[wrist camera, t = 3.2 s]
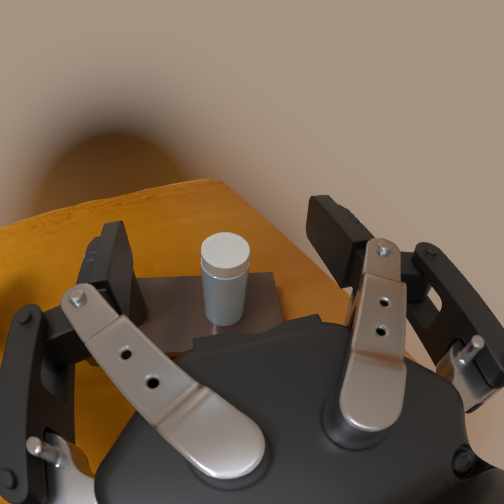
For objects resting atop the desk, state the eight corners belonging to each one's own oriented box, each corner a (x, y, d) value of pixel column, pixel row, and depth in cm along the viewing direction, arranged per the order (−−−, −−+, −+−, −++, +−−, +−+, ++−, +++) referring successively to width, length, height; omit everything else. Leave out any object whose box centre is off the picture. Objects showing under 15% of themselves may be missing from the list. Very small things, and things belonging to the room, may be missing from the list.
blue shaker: (205, 327, 30) (200, 270, 23) (203, 294, 33) (199, 232, 26) (245, 325, 31) (254, 267, 24) (241, 292, 34) (247, 230, 26)
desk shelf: (91, 365, 30) (74, 349, 26) (100, 300, 36) (88, 279, 33) (280, 360, 33) (288, 343, 30) (267, 293, 40) (272, 271, 36)
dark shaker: (110, 329, 29) (76, 274, 21) (114, 296, 31) (88, 238, 24) (146, 329, 29) (122, 273, 22) (148, 296, 32) (129, 235, 25)
